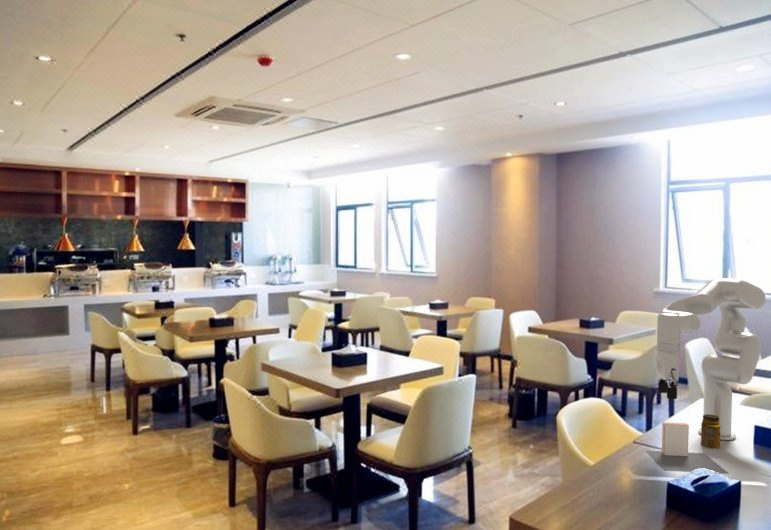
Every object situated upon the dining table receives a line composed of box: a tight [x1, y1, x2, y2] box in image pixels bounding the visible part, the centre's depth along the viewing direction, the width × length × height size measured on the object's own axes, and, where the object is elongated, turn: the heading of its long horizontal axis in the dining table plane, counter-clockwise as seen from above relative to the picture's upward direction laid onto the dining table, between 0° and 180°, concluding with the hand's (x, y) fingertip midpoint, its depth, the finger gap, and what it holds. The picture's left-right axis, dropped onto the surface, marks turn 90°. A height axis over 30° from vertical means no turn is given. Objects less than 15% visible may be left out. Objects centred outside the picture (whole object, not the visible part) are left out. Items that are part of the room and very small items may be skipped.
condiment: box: [700, 414, 721, 449], centre depth 205 cm, size 7×8×12 cm
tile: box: [661, 422, 690, 456], centre depth 196 cm, size 2×8×11 cm, turn 84°
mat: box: [645, 450, 730, 475], centre depth 190 cm, size 18×20×1 cm
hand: (667, 395), depth 203 cm, fingers open, 7 cm apart
